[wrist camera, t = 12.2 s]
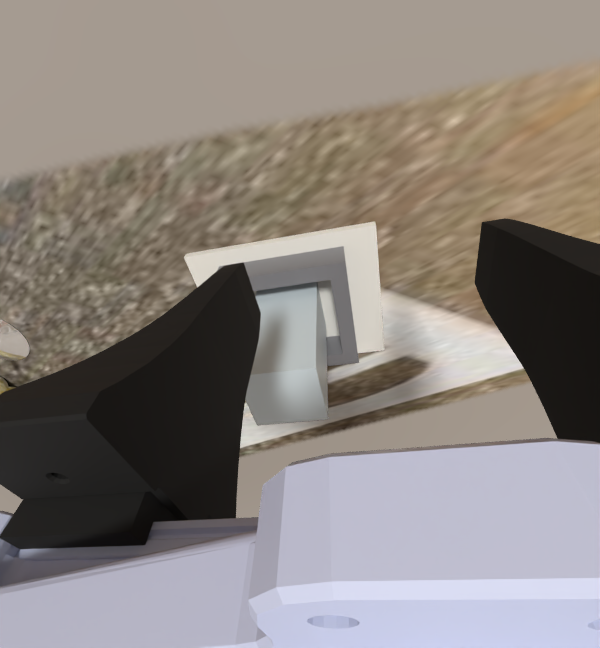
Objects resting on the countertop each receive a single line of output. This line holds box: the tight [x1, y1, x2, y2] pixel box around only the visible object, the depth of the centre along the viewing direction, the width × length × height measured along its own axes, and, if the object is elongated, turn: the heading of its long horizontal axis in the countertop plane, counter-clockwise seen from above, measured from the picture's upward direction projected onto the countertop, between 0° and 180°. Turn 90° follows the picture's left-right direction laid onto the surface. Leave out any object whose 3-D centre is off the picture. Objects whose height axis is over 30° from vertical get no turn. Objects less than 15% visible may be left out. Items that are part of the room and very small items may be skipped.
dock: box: [184, 222, 384, 366], centre depth 24 cm, size 12×10×2 cm
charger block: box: [245, 282, 328, 425], centre depth 21 cm, size 4×4×8 cm
